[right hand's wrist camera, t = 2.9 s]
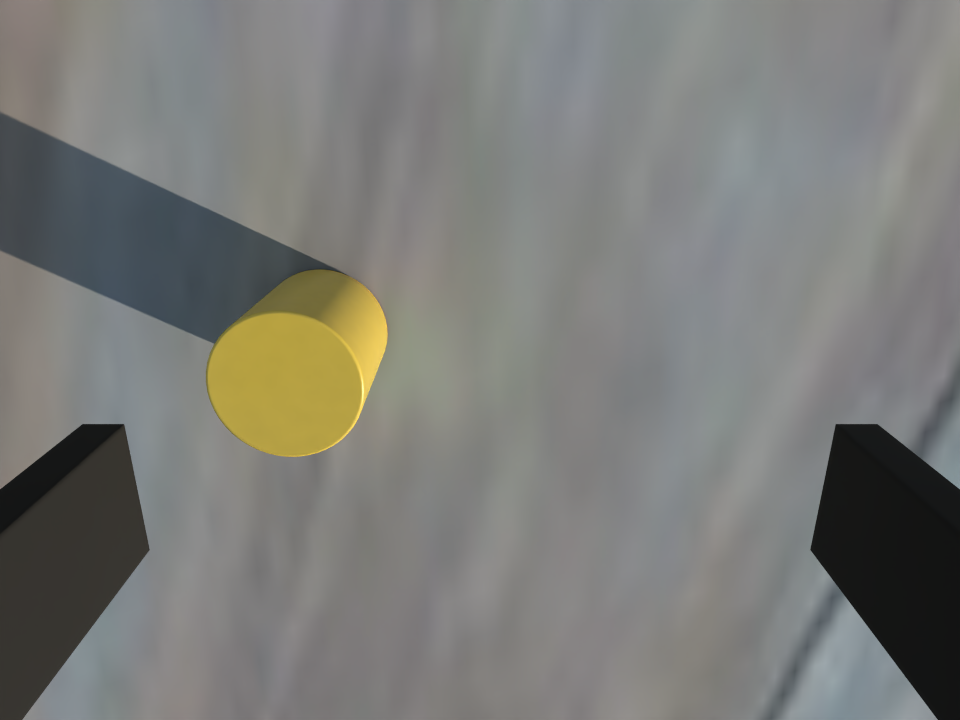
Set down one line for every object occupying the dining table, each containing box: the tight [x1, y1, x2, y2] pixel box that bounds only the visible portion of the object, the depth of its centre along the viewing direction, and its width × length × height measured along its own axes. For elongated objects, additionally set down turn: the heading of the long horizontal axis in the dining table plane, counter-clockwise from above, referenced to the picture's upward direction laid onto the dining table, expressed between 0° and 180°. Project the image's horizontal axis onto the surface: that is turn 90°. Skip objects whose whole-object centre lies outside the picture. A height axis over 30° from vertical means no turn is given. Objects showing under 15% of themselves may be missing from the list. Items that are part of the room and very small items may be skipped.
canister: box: [206, 270, 387, 457], centre depth 18 cm, size 4×4×4 cm
